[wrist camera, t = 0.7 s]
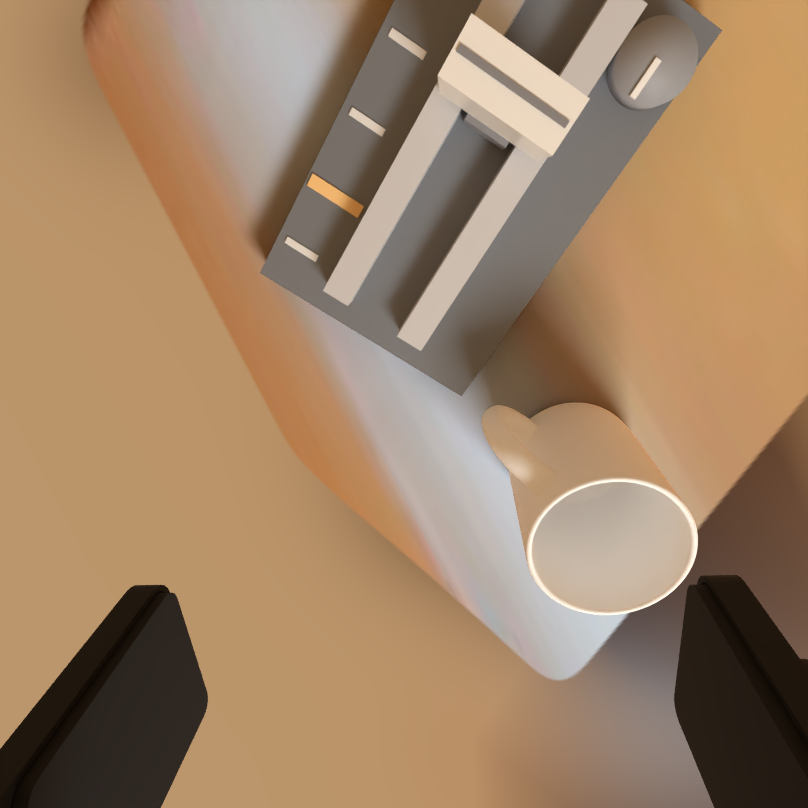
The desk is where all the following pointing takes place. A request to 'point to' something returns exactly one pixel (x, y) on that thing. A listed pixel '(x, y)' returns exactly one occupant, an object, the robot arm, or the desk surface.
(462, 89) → the fader
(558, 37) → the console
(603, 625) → the desk surface
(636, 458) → the mug
